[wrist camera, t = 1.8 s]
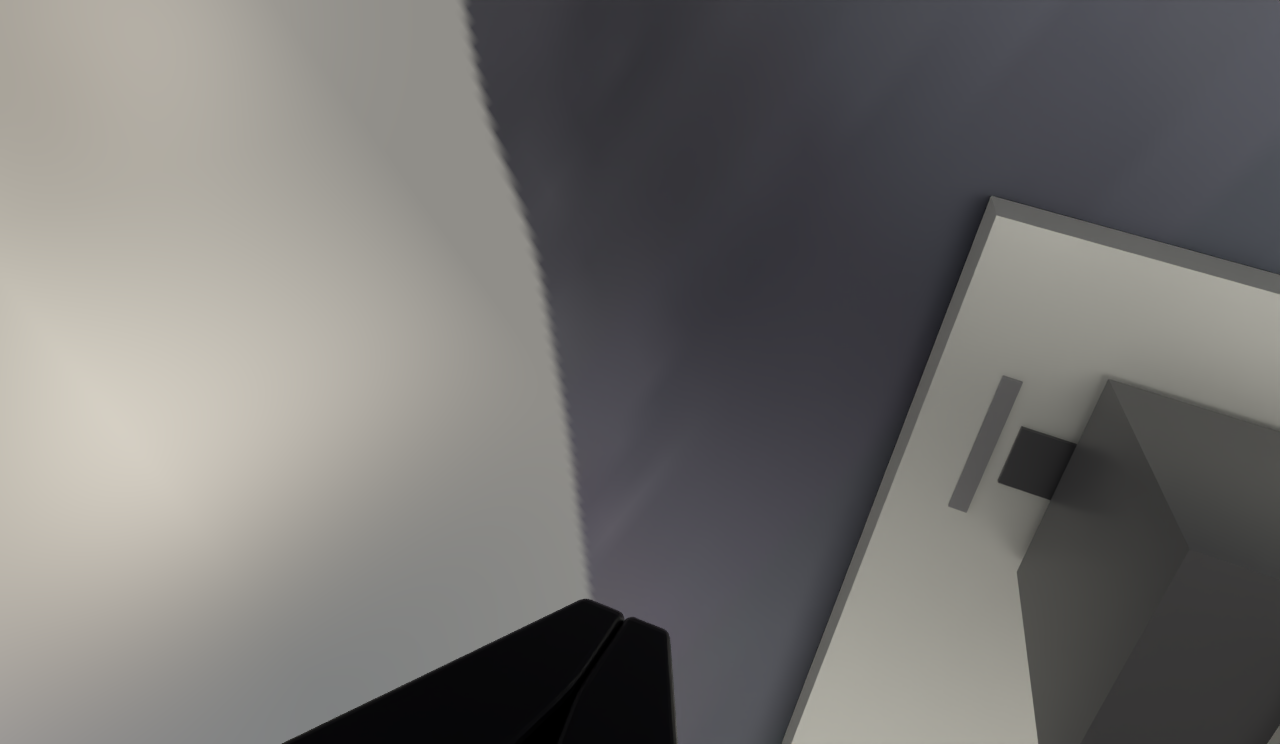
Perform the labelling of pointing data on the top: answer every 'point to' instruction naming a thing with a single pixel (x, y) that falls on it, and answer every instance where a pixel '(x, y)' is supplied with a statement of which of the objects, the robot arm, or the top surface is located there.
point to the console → (1016, 462)
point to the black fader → (1158, 580)
